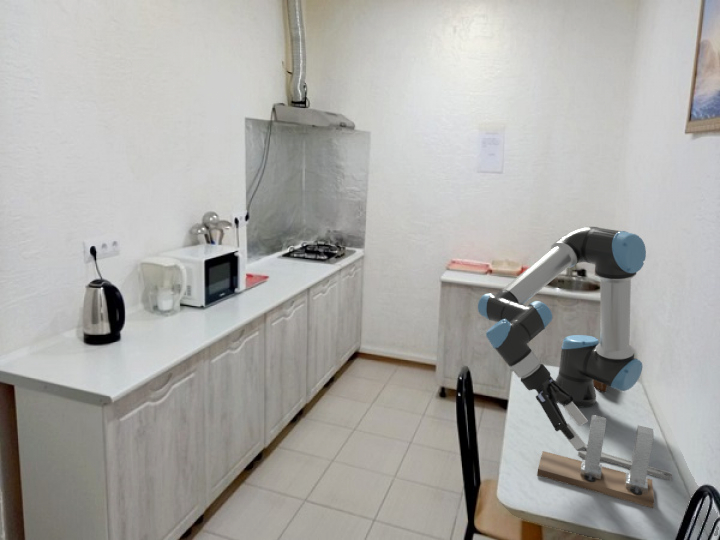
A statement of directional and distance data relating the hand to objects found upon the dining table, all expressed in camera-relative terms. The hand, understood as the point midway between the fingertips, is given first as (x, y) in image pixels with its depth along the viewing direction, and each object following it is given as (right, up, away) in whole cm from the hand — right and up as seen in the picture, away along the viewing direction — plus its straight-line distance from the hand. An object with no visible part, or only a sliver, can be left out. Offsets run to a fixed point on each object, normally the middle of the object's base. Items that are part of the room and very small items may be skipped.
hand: (582, 434), depth 141 cm
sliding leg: (+2, -11, +1) cm, 11 cm away
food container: (+32, -1, +61) cm, 69 cm away
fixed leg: (+12, -12, -4) cm, 18 cm away
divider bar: (+4, -13, +2) cm, 13 cm away
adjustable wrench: (+15, -12, +10) cm, 22 cm away
